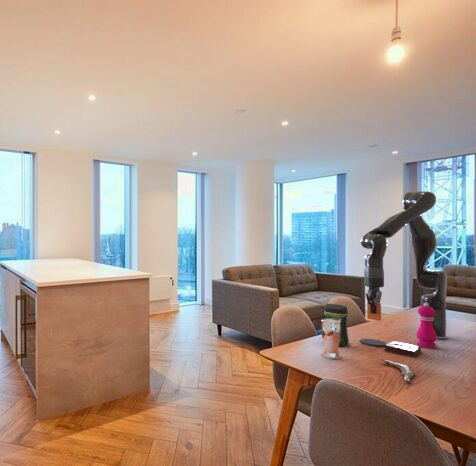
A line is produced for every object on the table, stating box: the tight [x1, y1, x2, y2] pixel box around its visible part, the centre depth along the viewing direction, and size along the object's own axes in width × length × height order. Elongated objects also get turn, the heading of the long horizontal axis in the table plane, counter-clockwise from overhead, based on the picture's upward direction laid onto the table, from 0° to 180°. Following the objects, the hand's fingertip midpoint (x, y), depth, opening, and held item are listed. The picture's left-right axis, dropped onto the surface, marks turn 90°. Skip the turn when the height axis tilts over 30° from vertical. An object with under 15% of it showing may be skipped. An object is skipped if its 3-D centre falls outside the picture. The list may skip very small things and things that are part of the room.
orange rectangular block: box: [366, 301, 382, 322], centre depth 158 cm, size 2×5×8 cm, turn 36°
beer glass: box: [321, 318, 341, 360], centre depth 141 cm, size 7×7×15 cm
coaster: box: [360, 338, 388, 348], centre depth 158 cm, size 10×10×1 cm
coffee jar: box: [323, 303, 350, 347], centre depth 158 cm, size 10×8×19 cm
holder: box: [384, 340, 422, 358], centre depth 147 cm, size 10×10×2 cm
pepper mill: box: [415, 303, 438, 349], centre depth 154 cm, size 7×7×20 cm
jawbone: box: [376, 357, 415, 384], centre depth 123 cm, size 9×20×2 cm, turn 168°
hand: (374, 312), depth 158 cm, fingers closed on orange rectangular block, 1 cm apart
